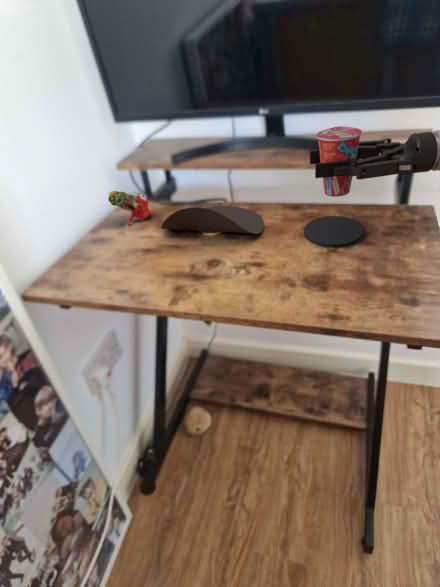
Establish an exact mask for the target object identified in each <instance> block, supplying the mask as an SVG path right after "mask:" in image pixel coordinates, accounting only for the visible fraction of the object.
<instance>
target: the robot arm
mask: <svg viewBox="0 0 440 587" xmlns="http://www.w3.org/2000/svg"><path fill="white" fill-rule="evenodd" d="M350 163H351V161H350V160H344V161H335V162H325V163H321V160H320V151H319V149H310V150H309V165H314V171H315V172H314V174H315V175H314V178H315V179H323V178H324V177H334V176H344V175H350V174H351V176H353V177H355V179H356V180H366V179H373V178H379V177H380V178H381V177H387V176H393V175H394V176H395V175H410V174H418V173H419V174H421V173H427V172H430V171H433V172H436V171H439V172H440V129H437V130H434V131H424V132H423V131H422V132H414V133H412V134H410V135H409V136H408V138H407V140H406V141H405V142H404V143H402V142H401V143H400V141H392V138H390V137H388V138H382V139H373V140H361V141H360V140H359V144H358V150H357V156H356V159H355V158H352V164H351V165H350Z"/></svg>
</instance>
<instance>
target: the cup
mask: <svg viewBox="0 0 440 587" xmlns="http://www.w3.org/2000/svg"><path fill="white" fill-rule="evenodd" d="M362 133H363V131H362V129H360V128H357V127H352V126H345V125H342V126H341V125H340V126H333V127H330V128H329V127H328V128H326V129H323V130H320V131H318V132H317V133H316V138H317V141H318V150H319V151H320V160H321V163H325V162H335V161H344V160H350V161H351V163H350V165H351V164H352V158H355V159H356V156H357V150H358V144H359V141H360V138H361V135H362ZM356 160H357V159H356ZM353 177H354V176H351V174H350V175H344V176H334V177H324V178H322V184H323V193H324V195H325V196H328V197H334V198H335V197H343V196H347V195H348V194H349V193H350V191H351V187H352V182H353Z"/></svg>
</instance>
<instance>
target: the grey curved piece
mask: <svg viewBox="0 0 440 587" xmlns="http://www.w3.org/2000/svg"><path fill="white" fill-rule="evenodd" d="M160 229H161V230H175V231H176V230H178V231H195V232H201V233H204V234H217V233H218V234H219V233H239V234H240V233H241V234H252V235H259V234H261V233H263V231H264V229H265V223H264V220H263V218H262V217H261V216H260V215H259V214H258V213H256V212H255V211H253V210H251V209H248V208H245V207H240V206H233V205H232V206H231V205H217V206H216V205H215V206H208V207H198V206H192V207H185V208H182V209H178V210H177V211H176V210H175V212H173V213H171V214H170V215H168V217H166V218H165V220H164V221H163V222H162V224H161V226H160Z"/></svg>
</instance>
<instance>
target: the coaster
mask: <svg viewBox="0 0 440 587" xmlns="http://www.w3.org/2000/svg"><path fill="white" fill-rule="evenodd" d="M364 232H365V229H364V226H363V225H362V223H360V222H359V221H358V220H356V219H354V218H351V217H348V216H341V215H326V216H320V217H317V218H314V219H311V220H310V221H308V222H307V223H306V224H305V226H304V228H303V235H304V237H305V239H306V240H307V241H309V242H310V243H311V244H314V245H317V246H320V247H325V248H344V247H348V246H351V245H354V244H356V243H358V242H359V241H361V240H362V238H363V236H364V234H365V233H364Z"/></svg>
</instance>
